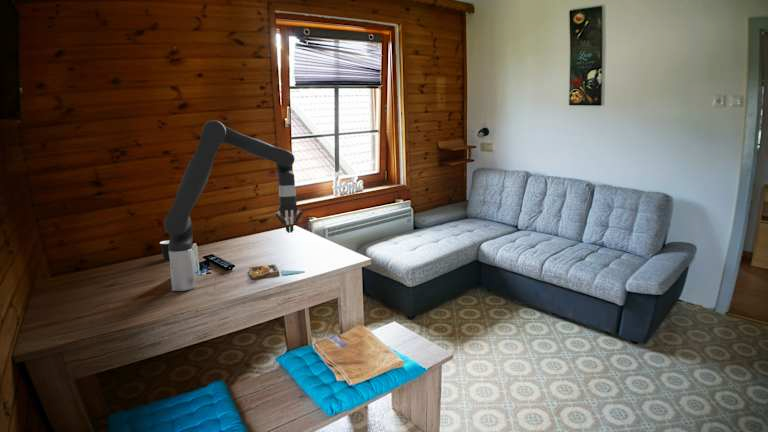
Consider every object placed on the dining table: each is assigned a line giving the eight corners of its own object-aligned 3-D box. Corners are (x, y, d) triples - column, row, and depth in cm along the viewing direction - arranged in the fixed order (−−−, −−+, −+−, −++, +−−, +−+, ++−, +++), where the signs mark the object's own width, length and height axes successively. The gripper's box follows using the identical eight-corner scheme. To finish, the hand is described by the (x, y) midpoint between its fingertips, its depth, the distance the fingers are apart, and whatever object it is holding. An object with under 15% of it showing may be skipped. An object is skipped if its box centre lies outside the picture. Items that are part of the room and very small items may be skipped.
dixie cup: (179, 262, 229) (177, 241, 227) (162, 264, 225) (160, 244, 223) (176, 259, 235) (174, 239, 234) (160, 261, 231) (158, 241, 229)
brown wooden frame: (252, 279, 194) (251, 274, 194) (249, 271, 207) (249, 267, 207) (279, 275, 198) (279, 271, 198) (275, 268, 211) (275, 264, 211)
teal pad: (283, 275, 198) (283, 274, 198) (279, 270, 208) (279, 269, 207) (305, 272, 202) (305, 271, 202) (300, 267, 211) (300, 266, 211)
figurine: (276, 266, 201) (263, 264, 190) (274, 279, 200) (261, 277, 189) (260, 265, 203) (246, 262, 192) (258, 278, 202) (243, 276, 191)
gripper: (273, 196, 193) (276, 235, 196) (303, 194, 198) (305, 232, 201) (271, 195, 200) (274, 232, 203) (300, 193, 205) (302, 229, 208)
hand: (289, 232), depth 202 cm, fingers closed
